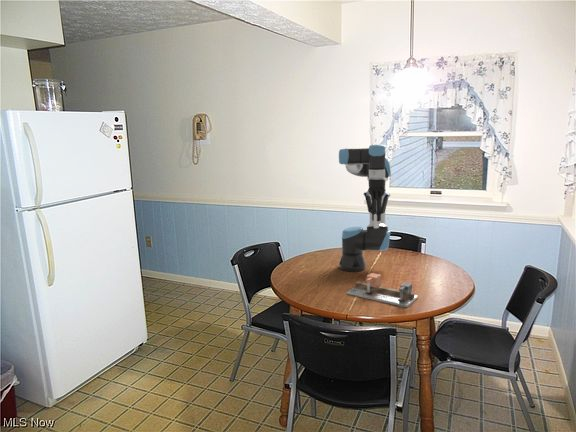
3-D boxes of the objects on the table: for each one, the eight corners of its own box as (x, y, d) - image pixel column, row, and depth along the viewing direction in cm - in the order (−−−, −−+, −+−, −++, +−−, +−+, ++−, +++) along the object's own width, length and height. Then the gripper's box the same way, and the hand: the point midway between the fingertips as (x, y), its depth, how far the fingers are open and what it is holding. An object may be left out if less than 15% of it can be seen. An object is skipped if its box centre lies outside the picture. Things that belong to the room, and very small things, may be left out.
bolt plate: (347, 293, 206) (347, 291, 206) (359, 285, 216) (359, 283, 216) (406, 307, 188) (406, 304, 188) (417, 297, 198) (417, 295, 198)
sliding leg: (362, 292, 203) (363, 278, 202) (371, 286, 210) (371, 272, 209) (372, 294, 200) (372, 280, 199) (380, 288, 207) (380, 274, 206)
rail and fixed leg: (350, 290, 207) (350, 278, 206) (359, 284, 214) (359, 273, 213) (408, 303, 190) (408, 290, 189) (415, 296, 197) (415, 284, 196)
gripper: (360, 178, 199) (360, 227, 204) (386, 179, 191) (385, 230, 196) (368, 176, 205) (368, 224, 209) (393, 178, 197) (392, 227, 201)
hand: (376, 227), depth 202 cm, fingers closed
